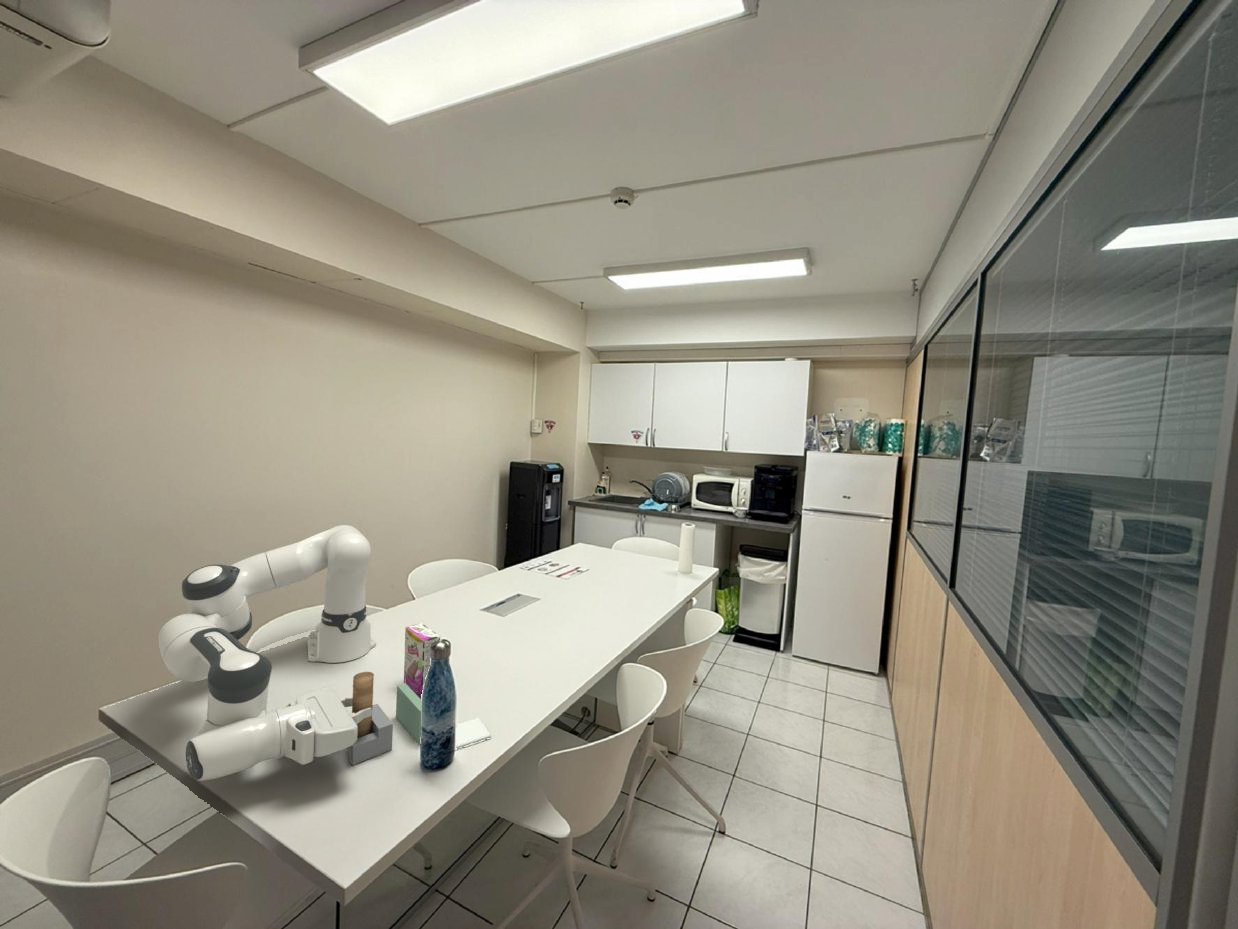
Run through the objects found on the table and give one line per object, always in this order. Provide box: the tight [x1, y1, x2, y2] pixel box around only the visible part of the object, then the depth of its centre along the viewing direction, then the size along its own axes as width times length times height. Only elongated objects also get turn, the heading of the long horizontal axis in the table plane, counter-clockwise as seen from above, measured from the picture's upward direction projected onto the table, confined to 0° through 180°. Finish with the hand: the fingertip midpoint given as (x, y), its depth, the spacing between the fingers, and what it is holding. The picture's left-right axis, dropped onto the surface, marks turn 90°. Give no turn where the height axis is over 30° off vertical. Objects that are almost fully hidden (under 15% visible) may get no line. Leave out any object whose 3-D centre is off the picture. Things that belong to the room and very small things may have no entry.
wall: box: [395, 682, 423, 746], centre depth 116 cm, size 14×2×8 cm, turn 45°
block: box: [348, 703, 394, 765], centre depth 109 cm, size 10×8×6 cm
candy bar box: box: [403, 622, 441, 699], centre depth 134 cm, size 11×5×16 cm, turn 48°
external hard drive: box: [456, 717, 492, 750], centre depth 115 cm, size 2×8×12 cm
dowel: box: [351, 671, 375, 738], centre depth 108 cm, size 4×4×16 cm
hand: (366, 705), depth 109 cm, fingers closed on dowel, 4 cm apart
